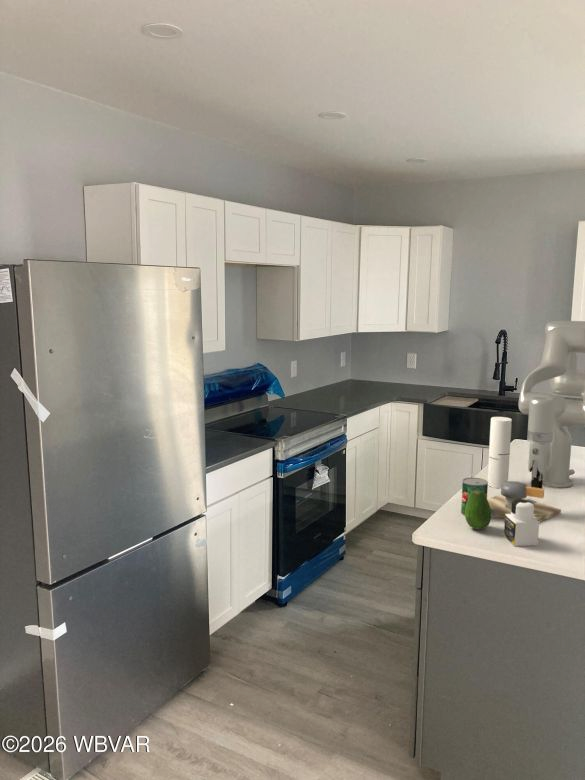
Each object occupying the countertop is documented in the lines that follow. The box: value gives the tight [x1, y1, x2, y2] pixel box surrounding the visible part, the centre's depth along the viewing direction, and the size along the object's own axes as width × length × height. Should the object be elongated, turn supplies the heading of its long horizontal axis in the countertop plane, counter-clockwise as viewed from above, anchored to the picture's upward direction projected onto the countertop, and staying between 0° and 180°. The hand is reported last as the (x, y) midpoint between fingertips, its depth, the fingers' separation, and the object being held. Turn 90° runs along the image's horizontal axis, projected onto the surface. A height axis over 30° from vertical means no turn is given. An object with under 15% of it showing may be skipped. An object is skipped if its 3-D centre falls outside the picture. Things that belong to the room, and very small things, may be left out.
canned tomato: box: [460, 477, 489, 517], centre depth 202 cm, size 8×8×11 cm
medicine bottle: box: [503, 499, 540, 547], centre depth 180 cm, size 7×7×12 cm
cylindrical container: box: [487, 416, 513, 489], centre depth 229 cm, size 7×7×25 cm
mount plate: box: [487, 494, 562, 523], centre depth 205 cm, size 18×20×6 cm
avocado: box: [464, 490, 493, 530], centre depth 189 cm, size 8×8×12 cm
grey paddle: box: [500, 480, 545, 499], centre depth 202 cm, size 13×8×3 cm, turn 58°
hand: (536, 491), depth 202 cm, fingers closed
